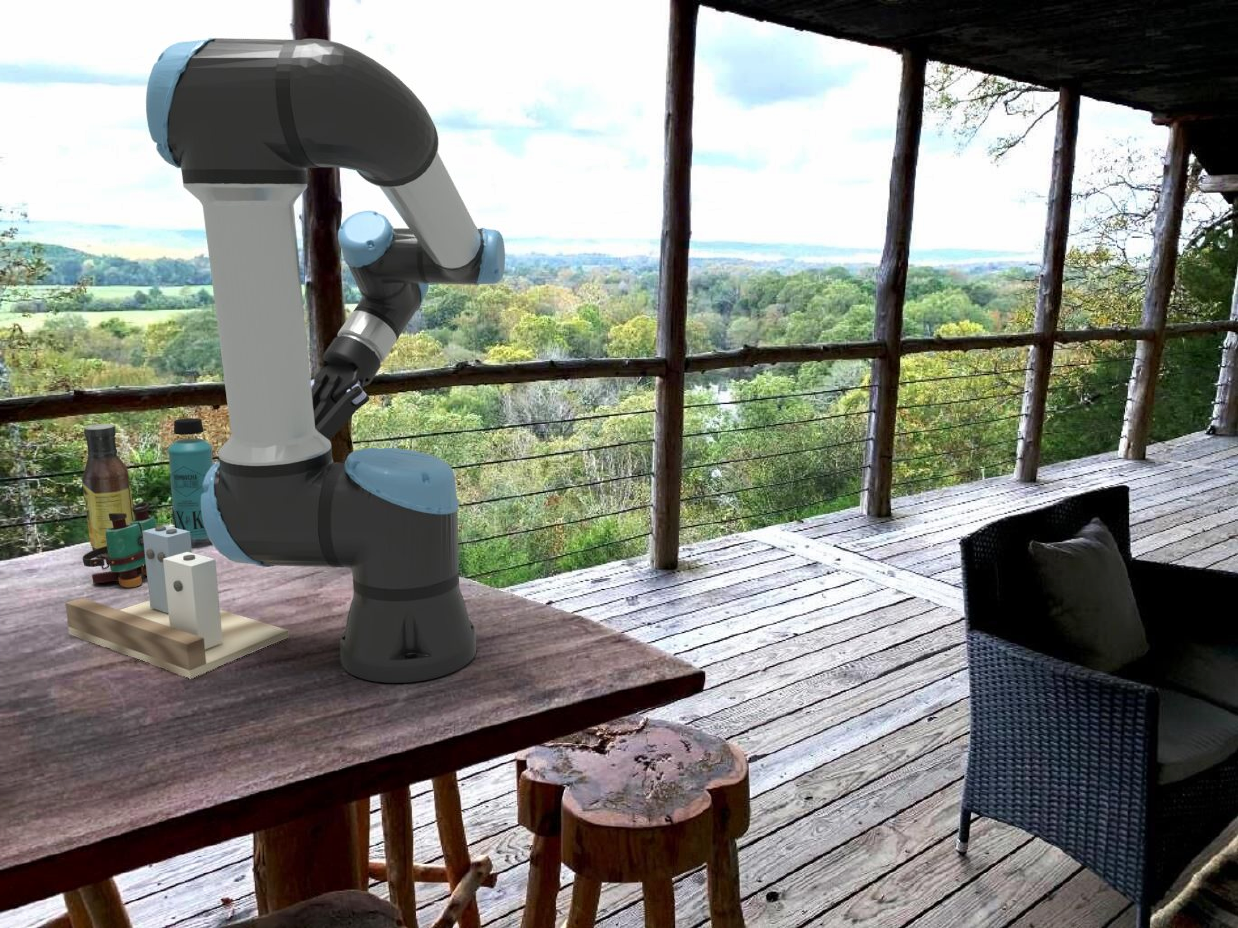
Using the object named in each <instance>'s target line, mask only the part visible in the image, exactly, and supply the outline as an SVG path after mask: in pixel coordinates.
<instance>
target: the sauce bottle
mask: <svg viewBox="0 0 1238 928" xmlns="http://www.w3.org/2000/svg"><path fill="white" fill-rule="evenodd" d="M83 431H84V432H83V433H84V437H85V438H86V445H87V455H88V456H87V460H86V463H85V467H84V471H83V474H82V478H81V482H82V483H81V484H82V491H83V498H84V505H85V513H86V514H85V515H86V520H87V522H86V523H87V529H88V535H89V536H88V537H89V544H90V546H91V549H92V551H93V550H96V549H98V548H101V547H104V546H107V542H106V530H108V529H111V528H113V524H112V521H110V519H109V514H110V513H126V515H127V518H125V520H126V525H127V524H129V525H130V522H131V521H133V520H136V517H135V513H134V512H133V510H132V507H133V506H134V505H133V504H134V503H133V497H132V496H133V494H132V488H131V483H130V479H129V477H130V476H129V470H128V467H127V466H126V464H125V463H124V461H123V460H122V459H121V458H120V457H119V456H118V449H117V443H116V425H115V424H112V423H96V424H89V425H85V426H84V428H83ZM102 555H106V556H107V557H108V553H105V554H102ZM99 556H100V555H99ZM99 556H97V558H100V557H99ZM101 558H104V557H103V556H101ZM108 558H109V557H108Z"/></svg>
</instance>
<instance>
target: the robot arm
mask: <svg viewBox="0 0 1238 928" xmlns="http://www.w3.org/2000/svg"><path fill="white" fill-rule="evenodd" d="M149 74H150V75H149V77H148V81H147V87H146V92H145V93H146V95H145V112H146V121H147V127H148V132H149V135H150V138H151V139H152V142H154V143H156V152H157V153H158V154H159V156H160V157H161V158H162V159H163V160H164V161H165V162H166V163H167V164H169V165H171V166H173V167H175V168H177V169H180V170H181V178H182V186H183V188H184V189H185V190H186V191H188V192H189V194H190V193H191V195H192V196H194V198H195V199H197V200H198V201H199V202H200V204H201V205H202V211H203V220H204V228H205V234H206V236H205V237H206V244H207V249H208V257H209V258H208V259H209V268H210V275H211V282H212V284H211V285H212V291H213V298H214V308H215V314H216V323H217V332H218V339H219V340H218V341H219V349H220V355H221V362H222V372H223V380H224V387H225V388H224V389H225V395H226V403H227V405H226V406H227V410H228V411H227V412H228V419H229V420H228V421H229V427H230V434H231V435H230V437H229V438H228V439H227V441H226V442H224V444H223V445H222V446H221V447H220V449H219V450H218V452H217V454H218V461H217V462H215V463H213V466H212V467H211V468H210V469H209V471H208V472H207V474H206V476H205V478H204V482H203V485H202V486H203V488H204V491H205V492H204V493H203V494H202V495H201V512H202V519H203V523H204V526H205V529H206V532H207V535H208V537H207V538H209V541H210V542H211V544H212V546H213V547H214V548H215V550H217V552H218V553H219V554H221V555H222V556H224V557H225V558H227V560H229V561H232V562H234V563H238V564H239V563H240V564H250V565H257V566H259V567H263V568H270V567H276V566H277V567H278V566H279V567H308V568H309V567H317V568H319V567H320V568H323V567H324V568H346V569H347V568H349V569H351V573H352V585H353V586H352V589H353V591H352V592H353V593H352V600H351V603H350V607H349V611H348V614H347V617H346V624H345V630H344V631H343V633H342V635H341V638H340V641H339V652H340V664H341V666H342V668H343V669H344V670H345V671H346V672H347V673H348V674H350V675H352V676H354V677H356V678H360V679H363V680H366V681H370V682H371V681H372V682H379V683H385V684H386V683H391V684H392V683H394V684H400V683H401V684H402V683H404V684H405V683H414V682H415V683H416V682H421V681H427V680H432V679H436V678H439V677H443V676H447V675H449V674H452V673H454V672H456V671H458V670H461V669H462V668H464V667H465V666H467V665H468V664H469V663H471V661H472V660H473V659H474V657H476V654H477V631H476V629H475V626H474V624H473V622H472V621H471V620H470V617H469V614H468V610H467V607H466V603H465V600H464V596H463V595H462V591H461V588H460V575H459V574H460V573H459V571H460V568H459V567H460V562H459V561H460V560H459V559H460V558H459V557H460V556H459V521H458V519H459V517H458V514H459V513H458V512H459V511H458V510H459V508H460V504H459V499H458V496H457V485H456V476H455V473H454V470H453V468H452V467H451V466H450V464H448V463H447V462H446V461H444V460H443V459H442V458H441V459H440V458H439V457H437V456H435V455H433V454H429V453H425V452H421V451H417V450H411V449H404V448H403V449H402V448H396V447H392V448H391V447H384V448H377V447H370V448H369V447H368V448H362V449H361V448H360V449H357V450H354V451H352V452H350V453H349V454H348V455H347V457H346V460H344V462H337V461H336V462H335V461H334V459H333V452H332V443H331V441H332V439H334V437H335V436H336V434H338V432H339V431H340V430H341V429H342V428H343V427H344V426H345V424H346V423H347V422H348V421H349V420H350V418H352V416H353V415H354V414H355V413H356V411H358V410H359V409H360V408H361V407H363V406H364V405H366V404H367V403H368V402H369V401H370V396H369V395H368V394H367V393H366V392H365V391H364V390H363V388H364V387H366V386H369V385H370V384H371V382H372V381H373V379H374V378H375V377H376V375H377V373H378V372H379V370H380V368H381V364H383V363H384V361H386V359H387V357H388V355H389V353H390V352H391V350H392V349H393V347H394V346H395V345H396V343H397V342H398V340H399V339H400V336H401V335H402V333H403V331H404V330H405V329H406V327H407V325H408V324H409V323H410V321H411V320H412V318H413V317H414V315H415V314H416V313H417V311H419V310H420V307H421V306H422V303H423V301H424V299H425V297H426V296H427V294H428V292H429V288H430V287H429V286H430V285H431V284H436V285H437V284H438V285H439V284H441V285H444V284H445V285H469V286H470V285H473V286H479V285H489V284H490V285H495V284H498V283H499V282H501V281H502V279H503V277H504V273H505V268H506V267H505V264H506V251H505V250H506V249H505V242H504V238H503V235H502V233H501V232H500V231H499V230H496V229H488V228H485V227H481V228H477V226H476V223H475V222H474V220H473V218H472V216H471V215H470V213H469V211H468V209H467V207H466V205H465V203H464V200H463V199H462V197H461V195H460V192H459V191H458V189H457V187H456V185H455V183H454V181H453V179H452V177H451V176H450V173H449V171H448V170H447V167H446V166H445V164H444V162H443V160H442V158H441V156H440V154H439V152H438V151H439V135H438V131H437V127H436V126H435V123H434V121H433V119H432V116H431V115H430V114H429V112H428V109H427V108H426V106H425V105H424V104H423V102H422V101H421V100H420V98H418V97H417V95H416V94H415V93H414V92H413V91H412V89H410V87H408V86H407V85H406V84H405V83H404V81H402V80H401V79H400V78H399V77H398V76H396V75H395V73H393V72H392V71H391V70H389V69H388V68H386V67H385V66H384V65H383V64H380V63H379V62H378V61H377V60H375V59H373V57H372V58H371V57H370V56H367V55H366V54H365V53H363V52H361V51H359V50H357V49H355V48H352V47H350V46H348V45H345V44H343V43H340V42H335V41H331V40H328V39H321V38H320V39H319V38H303V39H277V38H276V39H275V38H273V39H272V38H271V39H268V38H226V37H225V38H222V37H221V38H217V37H215V38H214V37H213V38H212V37H209V38H207V39H200V40H189V41H181V42H175V43H174V44H171V45H169V46H168V47H166V48H165V49H164V50H163V51H162V52H161V53H160V55H158V58H157V61H156V62H155V63H154V64H153V66H152V68H151V72H150V73H149ZM309 168H315V169H317V168H319V169H320V168H337V169H338V168H340V169H341V168H343V169H348V170H353V171H356V172H357V173H358V175H359V176H360V177H361V178H362V179H364V180H365V181H366V182H367V183H370V184H371V185H375V186H376V187H379V188H380V190H381V191H382V192H383V194H384V195H385V197H386V198H387V200H388V201H389V202H390V204H391V205H392V206H393V208H394V209H395V211H396V212H397V213H398V214H399V216H400V217H401V219H402V220H403V222H404V223H405V224H406V226H407V227H408V228H405V227H403V228H400V227H399V228H397V227H396V228H395V227H394V226H393V225H392V224H391V222H390V221H389V219H388V218H387V217H386V216H385V215H384V214H381V213H378V212H376V211H374V210H362V211H359V212H358V211H357V212H356V213H353V214H352V215H350V216H348V217H347V218H346V219H345V220H344V221H343V222H342V223H341V225H340V226H339V229H338V231H337V239H338V240H337V241H338V243H339V246H340V250H341V252H342V257H343V260H344V262H345V264H347V267H348V268H349V271H350V273H351V274H352V277H353V279H354V282H355V284H356V286H357V288H358V291H359V293H360V295H361V298H360V300H359V302H358V304H357V306H355V308H354V309H353V310H352V312H351V313H350V315H349V317H348V318H347V319H346V320H345V322H344V324H343V325H342V326H341V328H340V329H339V330H338V332H337V336H336V337H334V338H333V340H332V342H331V343H330V345H328V347H327V349H326V351H324V353H323V358H322V359H323V367H322V368H321V370H319V371H318V372H317V373H316V374H315V376H314V378H313V379H312V380H311V370H310V361H309V351H308V350H309V349H308V341H307V340H308V339H307V330H306V321H305V319H306V317H305V309H304V308H305V307H304V299H303V297H304V296H303V288H302V278H301V267H300V257H299V256H300V255H299V248H298V245H299V244H298V237H297V228H296V226H297V225H296V215H295V204H296V201H297V200H298V198H300V196H301V195H302V194H303V193H304V191H306V189H308V178H307V169H309ZM429 284H430V285H429Z"/></svg>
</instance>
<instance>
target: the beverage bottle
mask: <svg viewBox="0 0 1238 928" xmlns="http://www.w3.org/2000/svg"><path fill="white" fill-rule="evenodd" d="M173 427H174V428H173V433H174V435H179V436H180V435H182V436H183V435H187V436H188V435H196V434H197V435H198V434H201V433H204V427H203V421H202V419H201V418H194V417H192V418H191V417H188V418H181V419H179V418H178V419H176V420H174V422H173ZM212 451H213V446H212V445H211V444H210V442H208V441H206V440H204V439H202V438H185V439H178V440H175V441H173V442H172V444H170V445H169V446H168V448H167V452H168V461H169V474H170V475H169V477H168V478H169V483H170V488H171V489H170V495H171V499H170V501H171V505H172V508H171V510H172V512H171V513H172V521H173V522H172V523H173V526H172V527H174V528H178V529H182V530H186V531H190V538H191V541H194V540H201V539H206V538H209V537H208V535H207V532H206V529H205V526H204V523H203V519H202V512H201V495H202V494H203V493H204V492H205V491H204V488H203V486H202V485H203V482H204V478H205V476H206V474H207V472H208V471H209V469H210V468H211V467H212V466H213V465H214V463H213V452H212Z"/></svg>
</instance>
